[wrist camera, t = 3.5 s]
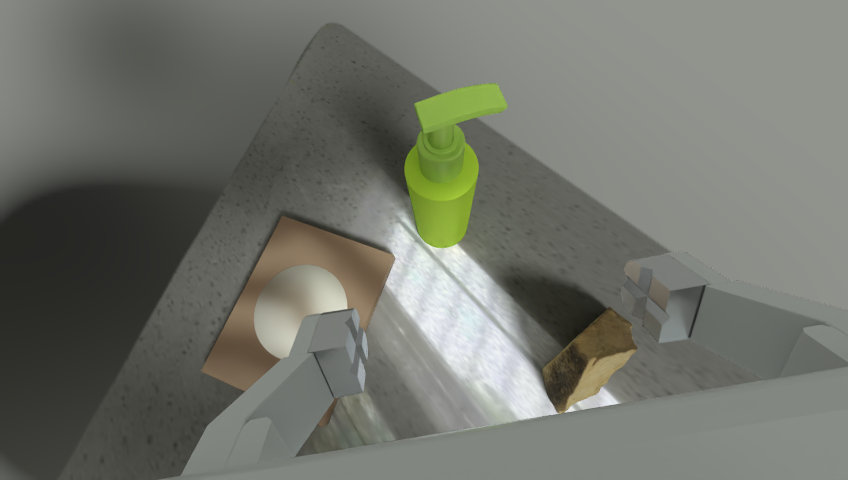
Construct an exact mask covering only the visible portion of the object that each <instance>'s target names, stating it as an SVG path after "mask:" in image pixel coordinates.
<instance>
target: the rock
mask: <svg viewBox="0 0 848 480" xmlns="http://www.w3.org/2000/svg"><path fill="white" fill-rule="evenodd" d="M632 327H633V325H632V324H631V323H630V322H629V321H627V320H626V319H624V318H623V317H621V316H620V315H619V314H618V313H617V312H615V311H614V310H613V309H612V308H611V307H609V308H608V309H607V310H606V311H605V312H604V313H603V314H601V315H600V316H599V317H598V318H597V319H596V320H595V321H594V322H593V323H592V324H590V325H589V326H588V327H587V328H586V329H585V330H584V331H583V332H582V333H581V334H579V335H578V336H577V337H576V338H575V339H574V340H573V341H572V342H570V343H569V345H568V346H567V347H566V348H564V349H563V350H562V351H561V352H560V353H559V354H558V355H557V356H556V357H555V358H554V359H553V360H551V361H550V362H548V363H547V364H546V365H545V366H544V368H543V370H542V372H543V377H544V381H545V385H546V389H547V393H548V396H549V398H550V400H551V402H552V403H553V405H554V406H555V408H556V410H557V412H558V413H564V412H565V411H566V410H568V409H569V407H570V406H571V405H572V404H574V403H576V402H578V401H581V400H583V399H586V398H588V397H590V396H593V395H596V394H597V393H598V392H599V391H600V388H601V387H602V386H603V385H604V384H606V383H607V382H608V380H609V377H610V376H611V375H612V374H613V373H614V372H615V371H616V370H617V369H619V368H621V367H622V366H623V365H624V364H625V363H626V362H627V360H628V359H629V357H630V356H631V355H632V354H633V353H635V352H636V350H637V346H636V345H635V343H634V342H633V339H632V334H631V329H632Z"/></svg>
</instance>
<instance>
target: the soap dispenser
mask: <svg viewBox="0 0 848 480" xmlns="http://www.w3.org/2000/svg"><path fill="white" fill-rule="evenodd" d="M414 105H415V111H416V114H417V117H418V120H419V123H420V125H421V128H422V130H421V131H420V133H419V135H418V138H417V144H416V145H415V146H414V147H413V148H412V149H411V151H410V152H409V154H408V156H407V158H406V161H405V166H404V171H405V177H406V182H407V186H408V190H409V195H410V199H411V203H412V208H413V212H414V217H415V221H416V225H417V230H418V233H419V235H420V237H421V238H422V239H423V240H424V241H425V242H426V243H427V244H429V245H431V246H433V247H437V248H447V247H451V246H453V245H455V244H457V243H458V242H459V241H460V240H461V239H462V238H463V237H464V235H465V233H466V230H467V226H468V221H469V216H470V211H471V206H472V201H473V196H474V191H475V186H476V181H477V176H478V170H479V166H478V160H477V157H476V155H475V153H474V151H473V150H472V148H471V147H470V146H469V145H468V144H466V143H465V137H464V134H463V132H462V130H461V129H460V128H459V127H458V126H457V125H455V124H456V123H459V122H462V121H466V120H469V119H472V118H476V117H480V116H484V115H489V114H496V113H501V112H502V111H503V110H505V109H506V108H507V107H508V106H507V103H506V101H505V99H504V97H503V95H502V93H501V90H500V88H499V86H498V84H496V83H491V84H480V85H474V86H468V87H463V88H459V89H456V90H452V91H449V92H446V93H443V94H440V95H437V96H434V97H431V98H428V99H426V100H423V101H420V102H417V103H415V104H414Z"/></svg>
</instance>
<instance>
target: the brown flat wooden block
mask: <svg viewBox="0 0 848 480" xmlns="http://www.w3.org/2000/svg"><path fill="white" fill-rule="evenodd" d="M394 261H395V257H394V255H392V254H389V253H386V252H384V251H381V250H378V249H375V248H372V247H370V246H367V245H364V244H361V243H358V242H355V241H353V240H350V239H347V238H344V237H341V236H338V235H336V234H333V233H330V232H327V231H324V230H322V229H319V228H316V227H313V226H310V225H307V224H305V223H302V222H299V221H296V220H293V219H291V218H288V217H285V216H282V217H281V219H280V221H279V223H278V225H277V227H276V229H275V231H274V233H273V234H272V236H271V238H270V240H269V242H268V244H267V246H266V248H265V250H264V252H263V254H262V255H261V257H260V259H259V261H258V263H257V265H256V267H255V269H254V271H253V273H252V275H251V276H250V278H249V280H248V282H247V284H246V286H245V288H244V290H243V292H242V294H241V295H240V297H239V299H238V301H237V303H236V305H235V307H234V309H233V311H232V313H231V315H230V316H229V318H228V320H227V322H226V324H225V326H224V328H223V330H222V332H221V334H220V335H219V337H218V339H217V341H216V343H215V345H214V347H213V349H212V351H211V353H210V355H209V356H208V358H207V360H206V362H205V364H204V366H203V368H202V370H201V372H203V373H206V374H208V375H210V376H212V377H214V378H216V379H219V380H221V381H223V382H225V383H227V384H230V385H232V386H234V387H236V388H238V389H240V390H243V391H246V390H248V389H249V388H250V387H251V386H252V385H253V384H254V383H255V382H257V381H258V380H259V379H260V378H261V377H262V376H263V375H264V374H265V373H267V372H268V371H269V370H270V369H271V368H272V367H273V366H274V365H275V364H277V363H278V362H279V361H280V360H281V359H282V358H284V357H288V356H289V353H290V351H291V348H292V346H293V343H294V340H295V338H296V335H297V333H298V330H299V328H300V325H301V322H302V320H303V318H304V317H305V316H307V315H313V314H319V313H324V312H331V311H338V310H344V309H351V308H355V309H356V310H357V312H358V314H359V317H360V321H359V326H360V327H361V328H362V329H364V332H366V329H367V327H368V324H369V322H370V320H371V317H372V315H373V312H374V310H375V307H376V305H377V302H378V300H379V297H380V295H381V293H382V290H383V288H384V285H385V283H386V280H387V278H388V275H389V273H390V270H391V268H392V266H393V263H394ZM338 398H339V397H338ZM338 398H334V401H333V402H332V404H331V405H330V407H329V408H328V410H327V411H326V413H325V414H324V415H323V417H322V418H321V420H320V421H319V423H318V424H317V425H319V426H321V427H324V426H325V425H327V424H328V422H329V420H330V418H331V415H332V413H333V410H334V408H335V405H336V403H337V400H338Z"/></svg>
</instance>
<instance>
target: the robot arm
mask: <svg viewBox="0 0 848 480" xmlns="http://www.w3.org/2000/svg"><path fill="white" fill-rule="evenodd" d="M624 273H625V275H626V276H627V277H628V279H627V280H626V281H625V282H624V283H623V285H622V292H621V295H622V299H623V303H624V305H625V307H626V308H627V310H628V311H629V312H630V313H631V314H632V316H635V317H637V318H639V319H642V320H643V325H642V326H643V327H644V328H645V330H646V331H647V332H648V333H649V334H650V335H651V336H652V337H653V338H654V339H655V340H656V341H657V342H658V343H663V342H670V341H677V340H685V339H690V341H692V342H694V343H696V344H698V345H700V346H702V347H704V348H706V349H707V350H709V351H711V352H713V353H715V354H717V355H719V356H721V357H723V358H725V359H727V360H728V361H730V362H732V363H734V364H736V365H738V366H740V367H742V368H744V369H746V370H748V371H750V372H751V373H753V374H755V375H757V376H759V377H761V378H763V379H765V380H762V381H756V382H750V383H744V384H738V385H732V386H726V387H720V388H713V389H707V390H701V391H695V392H689V393H683V394H677V395H671V396H665V397H658V398H652V399H646V400H640V401H634V402H628V403H622V404H616V405H610V406H604V407H597V408H591V409H585V410H579V411H573V412H567V413H561V414H555V415H549V416H542V417H536V418H530V419H524V420H518V421H512V422H506V423H500V424H494V425H487V426H481V427H475V428H469V429H463V430H457V431H451V432H445V433H439V434H433V435H426V436H420V437H414V438H408V439H402V440H396V441H390V442H384V443H378V444H372V445H365V446H359V447H353V448H347V449H341V450H335V451H329V452H323V453H317V454H310V455H304V456H298V457H295V456H296V454H297V453H298V452H299V450H300V449H301V447H302V446H303V444H304V443H305V441H306V440H307V439H308V437H309V436H310V434H311V433H312V431H313V430H314V428H315V427H316V426H317V424H318V423H319V421H320V420H321V418H322V417H323V415H324V414H325V413H326V411H327V410H328V408H329V407H330V405H331V404H332V402H333V401H334V398H338V397H343V396H348V395H353V394H358V393H363V390H364V382H365V374H366V373H365V370H364V367H363V365H364V363H365V362H366V361H367V355H368V349H367V340H366V335H365V332H364V329H362V328H361V327H360V326H359V321H360V317H359V314H358V312H357V310H356V309H355V308H351V309H344V310H338V311H331V312H324V313H319V314H313V315H307V316H305V317H304V318H303V320H302V322H301V325H300V328H299V330H298V333H297V335H296V338H295V340H294V343H293V346H292V348H291V351H290V353H289V356H288V357H284V358H282V359H281V360H280V361H279V362H278V363H277V364H275V365H274V366H273V367H272V368H271V369H270V370H269V371H268V372H267V373H265V374H264V375H263V376H262V377H261V378H260V379H259V380H258V381H257V382H255V383H254V384H253V385H252V386H251V387H250V388H249V389H248V390H246V391H245V392H244V393H243V394H242V395H241V396H240V397H239V398H238V399H236V400H235V401H234V402H233V403H232V404H231V405H230V406H229V407H228V408H226V409H225V410H224V411H223V412H222V413H221V414H220V415H219V416H217V417H216V418H215V419H214V420H213V421H212V422H211V423H210V424H209V425H208V426H207V427H206V429H205V431H204V433H203V435H202V437H201V439H200V440H199V442H198V444H197V446H196V448H195V450H194V452H193V453H192V455H191V457H190V459H189V461H188V463H187V465H186V466H185V468H184V470H183V472H182V474H181V476H177V477H170V478H164V479H158V480H848V310H846V309H842V308H838V307H835V306H831V305H827V304H823V303H820V302H816V301H812V300H809V299H805V298H801V297H797V296H794V295H790V294H786V293H783V292H779V291H775V290H771V289H768V288H764V287H760V286H757V285H753V284H750V283H746V282H742V281H738V280H736V281H731V280H729V279H727V278H726V277H724V276H723V275H721V274H720V273H718V272H717V271H715V270H714V269H712V268H710V267H709V266H707V265H706V264H704V263H703V262H701V261H700V260H698V259H697V258H695V257H694V256H692V255H690V254H689V253H687V252H684V251H676V252H671V253H666V254H662V255H659V256H653V257H647V258H642V259H636V260H630V261H628V262H627V263H626V265H625V269H624Z"/></svg>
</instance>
